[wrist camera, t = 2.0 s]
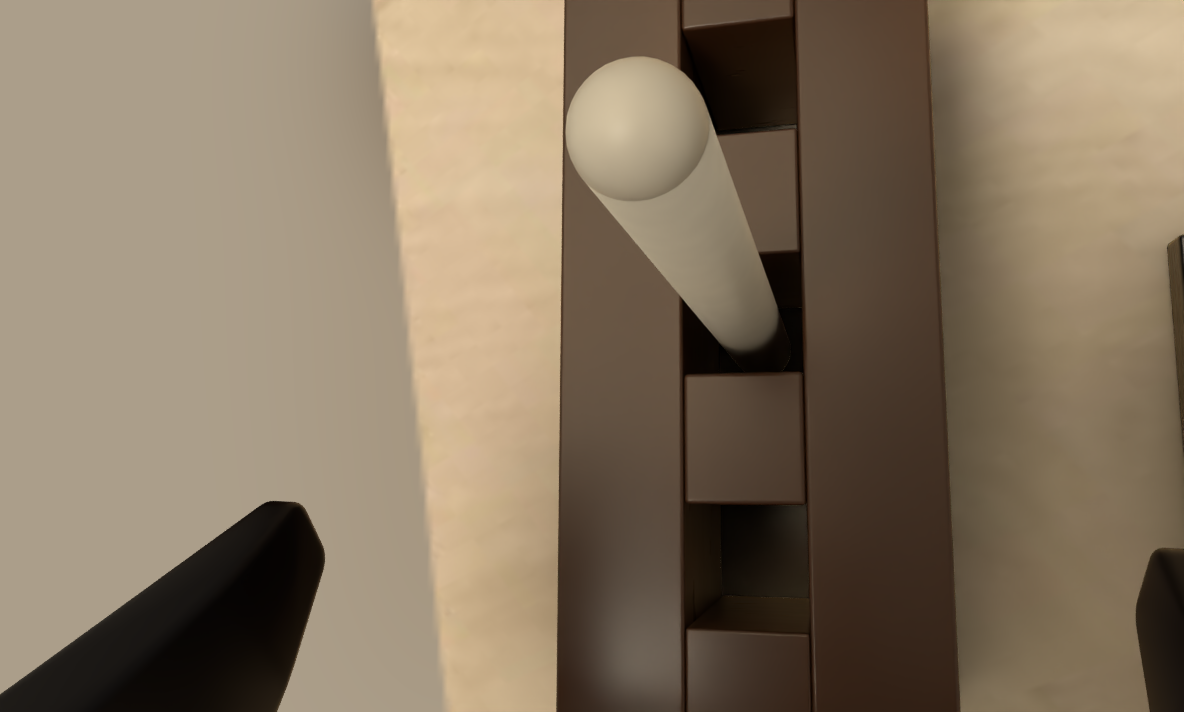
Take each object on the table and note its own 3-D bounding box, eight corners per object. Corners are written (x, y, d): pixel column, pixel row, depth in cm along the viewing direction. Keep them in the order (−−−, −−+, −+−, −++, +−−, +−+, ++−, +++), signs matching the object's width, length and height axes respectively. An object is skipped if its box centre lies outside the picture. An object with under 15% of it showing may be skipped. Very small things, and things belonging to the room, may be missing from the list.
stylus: (792, 380, 20) (699, 172, 7) (737, 382, 21) (545, 183, 7) (792, 326, 21) (698, 20, 7) (737, 328, 21) (546, 38, 7)
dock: (904, 20, 21) (922, -120, 16) (933, 715, 19) (965, 792, 14) (623, 52, 22) (563, -66, 18) (622, 695, 20) (554, 757, 16)
